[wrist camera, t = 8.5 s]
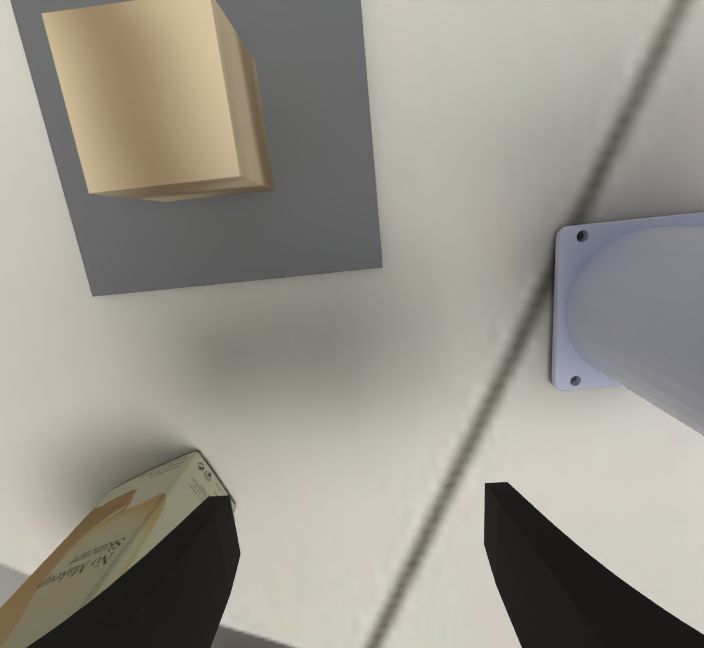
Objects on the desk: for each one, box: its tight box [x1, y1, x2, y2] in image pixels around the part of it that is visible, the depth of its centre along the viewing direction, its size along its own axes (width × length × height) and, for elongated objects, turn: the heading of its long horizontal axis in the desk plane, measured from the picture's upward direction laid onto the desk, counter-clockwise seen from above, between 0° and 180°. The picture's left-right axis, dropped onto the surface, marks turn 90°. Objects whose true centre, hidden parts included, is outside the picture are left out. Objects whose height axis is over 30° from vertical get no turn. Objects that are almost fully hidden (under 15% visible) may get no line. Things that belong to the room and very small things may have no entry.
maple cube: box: [41, 0, 275, 202], centre depth 14 cm, size 5×5×5 cm
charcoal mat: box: [10, 0, 382, 296], centre depth 17 cm, size 14×14×1 cm
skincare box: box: [0, 452, 236, 648], centre depth 16 cm, size 6×4×12 cm
